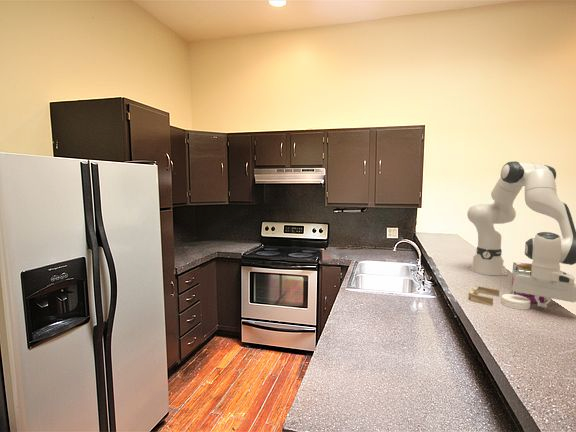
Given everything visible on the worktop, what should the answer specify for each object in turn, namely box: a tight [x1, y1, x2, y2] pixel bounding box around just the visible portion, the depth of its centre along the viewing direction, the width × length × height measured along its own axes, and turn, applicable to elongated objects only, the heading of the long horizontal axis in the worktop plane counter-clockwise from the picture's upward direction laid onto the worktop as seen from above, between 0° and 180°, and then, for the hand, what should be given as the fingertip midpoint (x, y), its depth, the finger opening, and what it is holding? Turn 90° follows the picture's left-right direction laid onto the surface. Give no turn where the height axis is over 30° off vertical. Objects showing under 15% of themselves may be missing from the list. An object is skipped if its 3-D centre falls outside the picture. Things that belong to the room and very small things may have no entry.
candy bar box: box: [510, 262, 545, 305], centre depth 138 cm, size 11×5×16 cm, turn 71°
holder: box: [467, 285, 500, 306], centre depth 141 cm, size 15×9×3 cm, turn 137°
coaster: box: [500, 293, 531, 311], centre depth 134 cm, size 10×10×4 cm
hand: (542, 306), depth 128 cm, fingers closed
